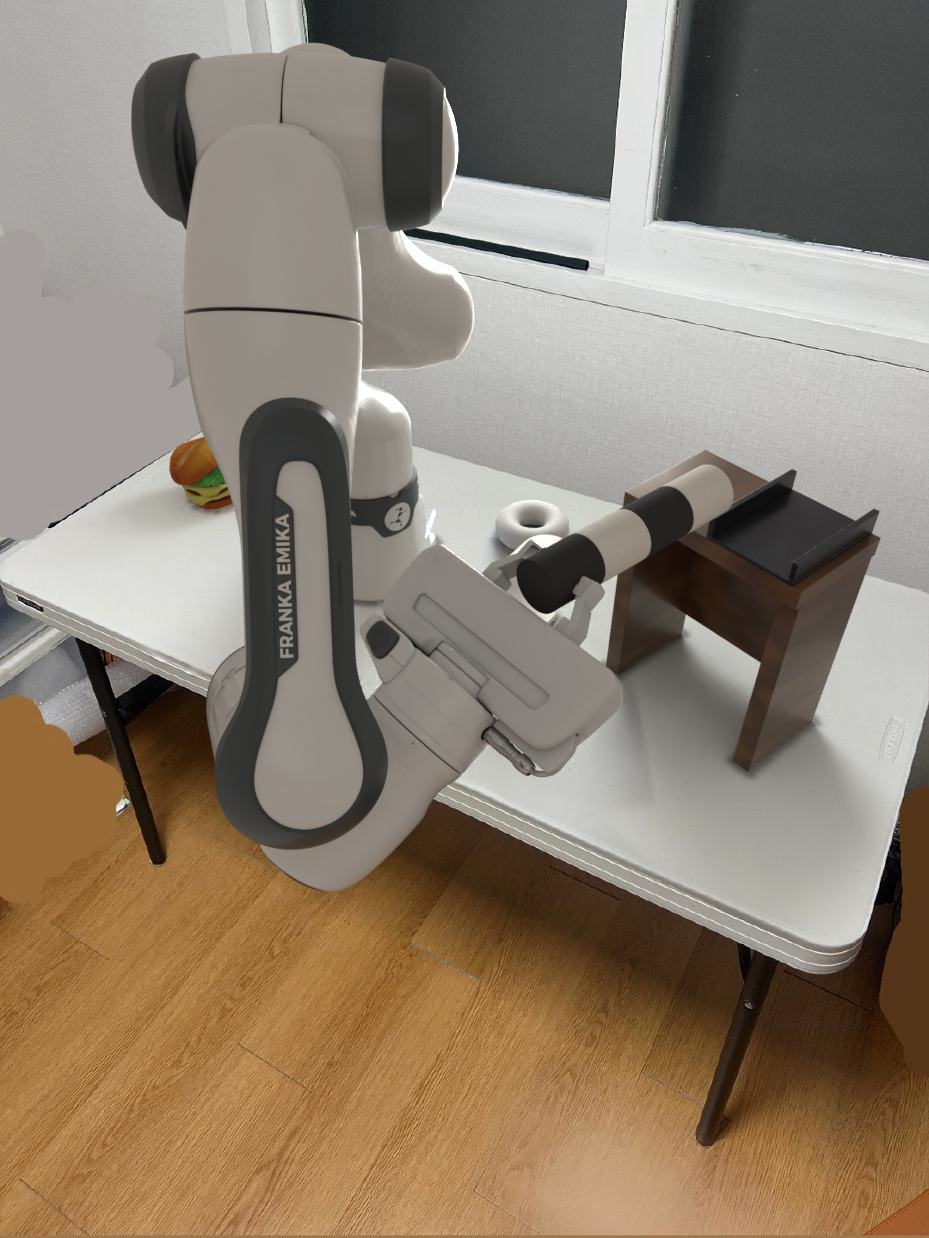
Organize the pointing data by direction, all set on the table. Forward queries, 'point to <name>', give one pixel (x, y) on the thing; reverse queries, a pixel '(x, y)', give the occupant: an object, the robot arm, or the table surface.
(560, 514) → the donut
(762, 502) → the tray
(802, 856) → the table surface
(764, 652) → the shelf
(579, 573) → the roll
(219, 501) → the cheeseburger
